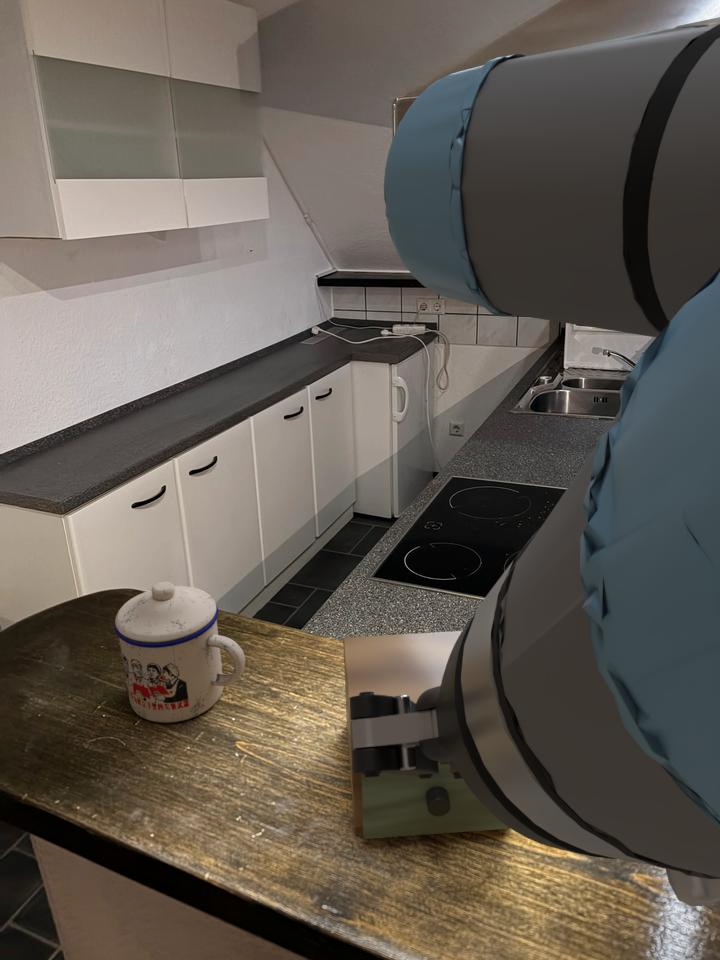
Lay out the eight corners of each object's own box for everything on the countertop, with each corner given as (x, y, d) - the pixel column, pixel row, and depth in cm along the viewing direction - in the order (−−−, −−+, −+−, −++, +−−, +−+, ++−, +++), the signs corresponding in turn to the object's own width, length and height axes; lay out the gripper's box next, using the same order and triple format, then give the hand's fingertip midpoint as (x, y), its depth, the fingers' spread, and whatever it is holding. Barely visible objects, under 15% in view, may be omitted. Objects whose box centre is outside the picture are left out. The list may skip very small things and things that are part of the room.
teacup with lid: (106, 714, 69) (86, 603, 65) (164, 657, 77) (149, 555, 73) (223, 743, 65) (209, 627, 61) (270, 681, 73) (261, 574, 69)
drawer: (511, 842, 54) (517, 761, 51) (364, 853, 53) (362, 771, 50) (476, 726, 65) (479, 654, 62) (354, 734, 65) (352, 662, 62)
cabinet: (511, 824, 56) (517, 725, 53) (354, 836, 56) (350, 736, 52) (477, 716, 68) (480, 629, 64) (346, 725, 67) (343, 637, 64)
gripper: (356, 882, 17) (347, 837, 39) (913, 839, 18) (598, 818, 40) (338, 562, 20) (339, 686, 42) (817, 534, 21) (573, 671, 42)
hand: (465, 750), depth 41 cm, fingers closed
